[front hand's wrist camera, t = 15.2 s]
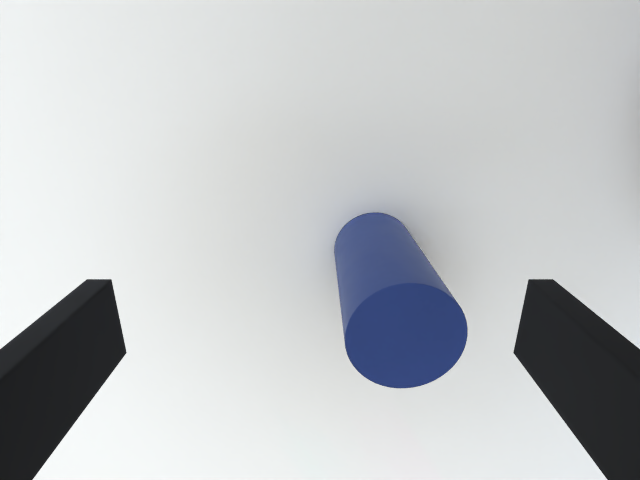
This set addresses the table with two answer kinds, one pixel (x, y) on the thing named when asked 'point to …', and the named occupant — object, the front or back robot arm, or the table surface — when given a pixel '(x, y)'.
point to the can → (394, 305)
